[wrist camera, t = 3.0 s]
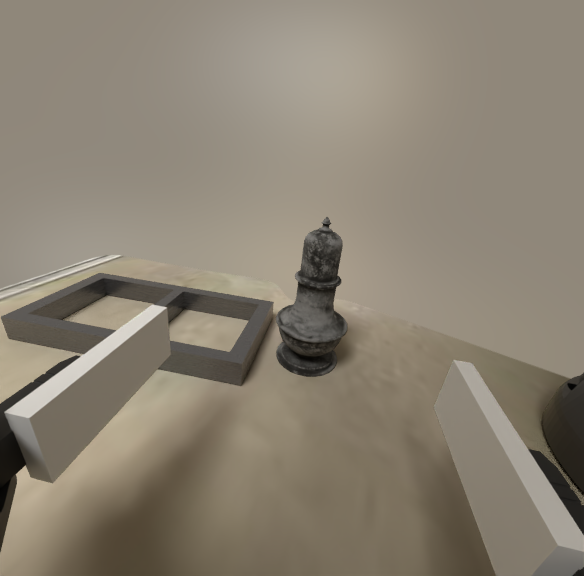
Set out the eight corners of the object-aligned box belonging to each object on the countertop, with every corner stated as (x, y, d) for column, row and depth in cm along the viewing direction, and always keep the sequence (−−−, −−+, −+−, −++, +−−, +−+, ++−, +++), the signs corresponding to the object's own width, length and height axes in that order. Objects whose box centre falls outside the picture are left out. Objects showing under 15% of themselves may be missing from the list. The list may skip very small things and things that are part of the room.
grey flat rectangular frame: (272, 318, 30) (273, 302, 29) (241, 385, 21) (241, 363, 20) (102, 289, 32) (99, 272, 31) (8, 338, 23) (0, 316, 22)
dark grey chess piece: (259, 358, 24) (268, 213, 19) (295, 329, 29) (310, 206, 24) (321, 390, 21) (351, 231, 17) (350, 352, 26) (380, 220, 21)
